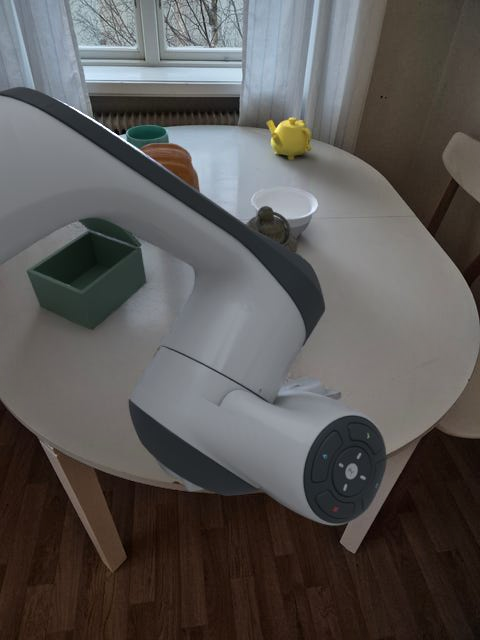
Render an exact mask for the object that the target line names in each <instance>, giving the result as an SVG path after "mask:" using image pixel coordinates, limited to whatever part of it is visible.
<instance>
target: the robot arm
mask: <svg viewBox="0 0 480 640" xmlns="http://www.w3.org/2000/svg"><path fill="white" fill-rule="evenodd" d="M86 218H100V219H103V220H106V221H109V222H111V223H113V224H115V225H117V226H119V227H121V228H123V229H125V230H127V231H128V232H130V233H132V234H133V236H135V237H138V238H139V239H141V240H143V241H145V242H147V243H148V244H151V245H152V246H154V247H156V248H158V249H160V250H162V251H163V252H165V253H167V254H168V255H171V256H173V257H174V258H176V259H178V260H180V261H182V262H183V263H185V264H187V265H189V266H190V267H191V269H193V273H194V281H193V287H192V290H191V293H190V294H189V296H188V298H187V300H186V301H185V303H184V305H183V307H182V309H181V310H180V312H179V313H178V315H177V317H176V319H175V321H174V322H173V324H172V326H171V328H170V329H169V331H168V333H167V334H166V336H165V338H164V339H163V342H162V343H161V345H160V346H158V348H157V349H156V351H155V353H154V355H153V356H152V358H151V360H150V361H149V364H148V365H147V367H146V368H145V370H144V372H143V373H142V376H141V377H140V379H139V381H138V383H137V385H136V387H135V388H134V390H133V392H132V394H131V396H130V398H129V399H128V411H129V415H130V419H131V422H132V425H133V428H134V430H135V433H136V435H137V437H138V440H139V441H140V444H141V445H142V446H143V448H145V449H146V450H147V452H148V453H149V454H150V455H151V456H152V457H154V458H155V461H156V463H157V465H158V466H159V468H160V469H161V470H162V471H163V472H164V473H165V474H166V475H167V476H169V477H170V478H173V479H177V480H181V481H182V484H183V486H184V488H185V489H186V491H188V492H197V491H202V490H206V491H209V492H211V493H214V494H218V495H221V496H225V497H228V496H229V497H231V496H242V495H249V494H253V493H256V492H258V491H259V489H260V490H261V491H262V492H263V493H265V494H266V495H268V496H269V497H271V498H272V499H273V500H275V501H276V502H278V503H279V504H280V505H282V506H284V507H285V508H287V509H288V510H291V511H292V512H294V513H296V514H298V515H300V516H302V517H304V518H305V519H309V520H311V521H314V522H316V523H319V524H322V525H327V526H342V525H345V524H348V523H351V522H353V521H354V520H356V519H357V518H359V517H360V516H362V515H363V514H364V513H365V512H366V511H367V510H368V509H369V507H370V506H371V504H372V503H373V502H374V499H375V497H376V495H377V494H378V491H379V489H380V487H381V484H382V482H383V478H384V475H385V472H386V468H387V449H386V443H385V440H384V436H383V434H382V431H381V430H380V428H379V427H378V425H377V424H376V423H375V421H373V419H371V418H370V417H369V416H367V414H365V413H363V412H362V411H360V410H359V409H356V408H355V407H354V406H353V407H352V406H350V405H348V404H346V403H344V402H342V401H339V400H340V399H341V398H342V392H341V390H340V389H334V388H325V384H324V382H323V381H322V380H321V379H318V378H315V377H312V376H308V375H305V376H303V375H302V376H298V377H295V378H292V379H289V380H286V379H287V377H288V375H289V373H290V371H291V369H292V367H293V365H294V363H295V361H296V359H297V357H298V355H299V353H300V351H301V349H302V348H303V347H304V346H305V345H306V344H307V342H308V340H309V338H310V337H311V336H312V333H313V332H314V329H315V328H316V326H317V325H318V324H319V322H320V320H321V319H322V317H323V315H324V314H325V311H326V303H325V298H324V294H323V290H322V287H321V283H320V280H319V278H318V275H317V273H316V271H315V269H314V267H313V266H312V264H311V263H310V262H309V261H308V260H306V259H305V258H304V257H303V256H302V255H300V254H298V253H297V252H296V253H295V252H294V251H292V250H290V249H289V248H287V247H285V246H283V245H282V244H280V243H278V242H276V241H274V240H272V239H270V238H269V237H267V236H265V235H263V234H261V233H259V232H257V231H255V230H254V229H252V228H250V227H249V226H247V225H246V223H245V222H243V221H241V220H240V219H238V218H237V217H236V216H234V215H233V214H231V213H230V212H228V211H227V210H225V209H224V208H223V207H221V205H219V204H217V203H216V202H214V201H213V200H211V199H210V198H209V197H208V196H206V195H204V194H203V193H202V192H201V191H200V192H199V191H197V190H196V189H194V188H193V187H192V186H190V185H189V184H187V183H186V182H185V181H183V180H182V179H180V178H179V177H178V176H176V175H175V174H173V173H172V172H171V171H169V170H168V169H166V168H165V167H163V166H162V165H161V164H159V163H158V162H156V161H155V160H153V159H152V158H150V157H149V156H148V155H146V154H145V153H143V152H142V151H140V150H139V149H137V148H136V147H134V146H133V145H131V144H130V143H128V142H127V140H125V139H124V138H122V137H121V136H119V135H118V133H117V134H116V133H115V132H114V131H112V130H110V129H109V128H108V127H106V126H104V125H103V124H101V123H100V122H99V121H97V120H95V119H93V118H91V117H90V116H88V115H87V114H85V113H83V112H82V111H80V110H78V109H76V108H74V107H72V106H71V105H69V104H67V103H65V102H64V101H62V100H59V99H57V98H55V97H53V96H51V95H49V94H46V93H43V92H42V91H38V90H36V89H33V88H30V87H25V86H15V87H12V88H8V89H4V90H0V266H2V265H4V264H5V263H7V262H9V261H10V260H12V259H13V258H14V257H16V256H17V255H19V254H21V253H22V252H24V251H26V250H27V249H28V248H30V247H32V246H33V245H34V244H36V243H37V242H39V241H40V240H43V239H44V238H46V237H47V236H49V235H51V234H52V233H54V232H56V231H58V230H61V229H62V228H64V227H66V226H69V225H71V224H73V223H76V222H80V221H79V220H82V219H86Z"/></svg>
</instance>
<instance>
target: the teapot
mask: <svg viewBox="0 0 480 640" xmlns="http://www.w3.org/2000/svg"><path fill="white" fill-rule="evenodd" d="M266 125H267V127H268V128H269V131H270V133H271V135H270V136H271V139H270V145H271V146H270V147H272V149H273V150H274V151H275V152H274V155H276V156H280V155H283V156H287V159H288V160H295V156H299V155H301V156H302V155H304V153H305V152H311V151H312V146H311V144H310V142H311V140H312V136H313V135H312V131H311V129H309V128H307V122H306V120H304V119H300V120H298V119H297V118H296V117H289V118H288V119H284V120H282V121H281V122H280V123H279V124H278V125H277V127H276V125H275V123H274V121H273V119H270V120H268V121H266Z"/></svg>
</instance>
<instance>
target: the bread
mask: <svg viewBox="0 0 480 640" xmlns="http://www.w3.org/2000/svg"><path fill="white" fill-rule="evenodd" d="M139 150H140V151H142V152H143V153H145V154H146V155H148V156H149V157H150V158H152V159H153V160H155V161H156V162H158V163H159V164H161V165H162V166H163V167H165V168H166V169H168V170H169V171H171V172H172V173H173V174H175V175H176V176H178V177H179V178H180V179H182V180H183V181H185V182H186V183H187V184H189V185H190V186H192V187H193V188H194V189H196V190H197V191H199V192H200V193H201V189H200V181H199V180H200V179H199V174H198V172H197V171H196V169H195V167H194V165H193V163H192V162H193V161H192V160H193V159H192V156H191V154H190V152H189V151H188V150H187V149H186V148H184V147H183V146H181V145H179V144H176V143H173V142H169V143H152V144H148V145H145V146H143V147H142V148H141V149H139Z"/></svg>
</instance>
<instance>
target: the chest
mask: <svg viewBox="0 0 480 640" xmlns="http://www.w3.org/2000/svg"><path fill="white" fill-rule="evenodd" d="M25 271H26V274H27V276H28V279H29V281H30V284H31V287H32V290H33V291H34V294H35V297H36V299H37V302H38V304H39V307H41V308H43V309H45V310H47V311H49V312H51V313H54V314H56V315H59V316H60V317H63V318H65V319H66V320H69V321H72V322H73V323H76V324H78V325H80V326H82V327H84V328H88V329H89V330H92V331H93V330H95V328H97V327H98V326H99V325H100V324H101V323H102V322H104V321H105V320H106V319H107V318H108V317H109V316H111V314H113V313H114V312H115V311H116V310H118V308H119V307H121V306H122V305H123V304H125V302H126V301H128V300H129V299H130V298H131V297H132V296H133V295H134V294H136V293H137V292H138V291H139V290H140V289H141V288H142V287H144V286H145V285H146V284H147V283H148V282H147V276H146V270H145V263H144V258H143V250H142V247H137V246H134V245H131V244H128V243H126V242H123V241H120V240H117V239H114V238H112V237H109V236H106V235H103V234H100V233H98V232H95V231H92V230H89V229H87V230H86V231H84V232H83V233H82V234H79V236H77V237H75V238H74V239H72V240H71V241H69V242H68V243H66V244H65V245H63V246H62V247H60V248H59V249H57V250H56V251H54V252H53V253H51V254H49V255H48V256H46V257H45V258H43V259H41V260H40V261H38V262H37V263H35V264H34V265H33V266H31V267H29V268H28V269H27V270H25Z"/></svg>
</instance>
